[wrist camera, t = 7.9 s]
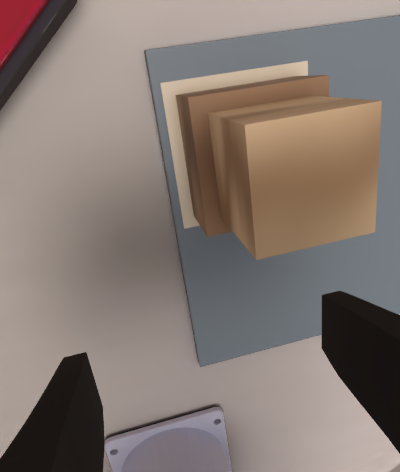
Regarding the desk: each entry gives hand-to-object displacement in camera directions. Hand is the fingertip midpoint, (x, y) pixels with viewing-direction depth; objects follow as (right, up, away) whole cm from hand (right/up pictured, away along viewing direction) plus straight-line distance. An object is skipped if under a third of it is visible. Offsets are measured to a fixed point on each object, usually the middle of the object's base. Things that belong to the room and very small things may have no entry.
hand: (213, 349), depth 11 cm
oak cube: (+2, +7, +5) cm, 9 cm away
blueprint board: (+6, +5, +11) cm, 13 cm away
